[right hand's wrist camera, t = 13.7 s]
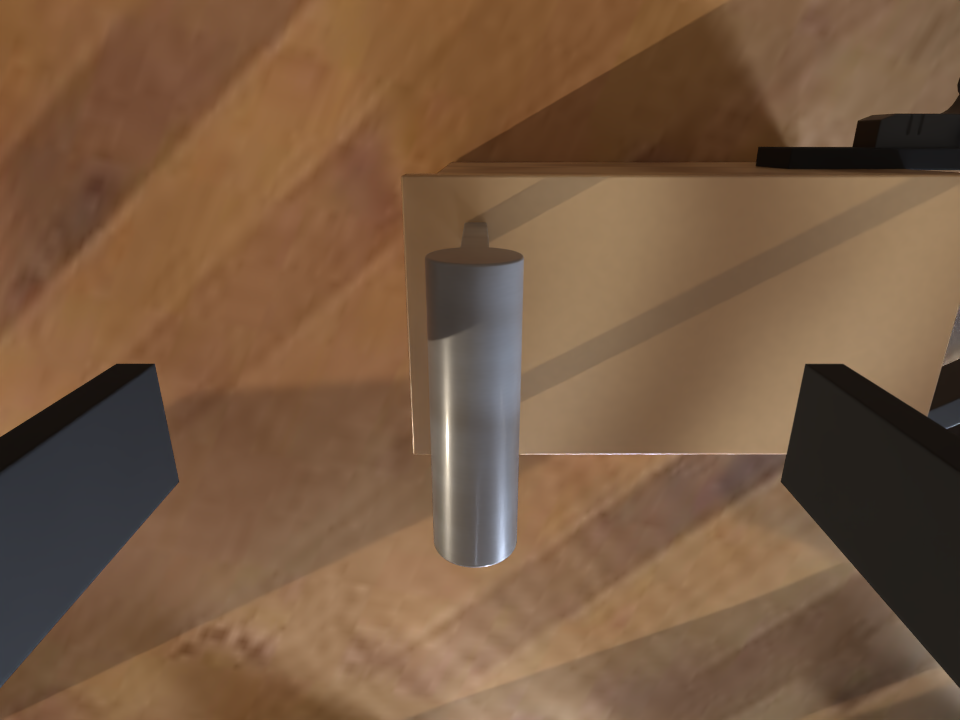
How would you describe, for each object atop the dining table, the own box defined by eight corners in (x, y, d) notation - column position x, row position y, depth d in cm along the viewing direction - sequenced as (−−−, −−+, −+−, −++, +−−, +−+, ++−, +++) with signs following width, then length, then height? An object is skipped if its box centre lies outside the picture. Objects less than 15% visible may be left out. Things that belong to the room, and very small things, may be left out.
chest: (453, 346, 32) (442, 442, 22) (450, 161, 29) (435, 173, 19) (765, 346, 32) (898, 441, 22) (797, 161, 29) (971, 173, 19)
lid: (415, 442, 22) (380, 611, 14) (404, 173, 19) (350, 197, 11) (899, 441, 22) (1134, 609, 14) (972, 173, 19) (1331, 197, 11)
